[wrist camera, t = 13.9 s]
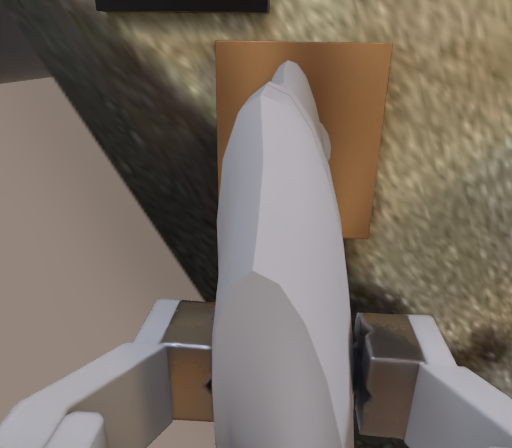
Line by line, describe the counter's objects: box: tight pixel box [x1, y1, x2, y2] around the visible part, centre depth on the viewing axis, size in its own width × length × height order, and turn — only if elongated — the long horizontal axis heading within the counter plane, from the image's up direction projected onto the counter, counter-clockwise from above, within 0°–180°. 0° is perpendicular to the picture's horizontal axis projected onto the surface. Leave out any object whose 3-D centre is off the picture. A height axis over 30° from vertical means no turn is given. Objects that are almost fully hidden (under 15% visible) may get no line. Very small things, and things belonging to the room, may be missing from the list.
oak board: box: [215, 40, 393, 239], centre depth 27 cm, size 10×12×2 cm
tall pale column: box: [212, 60, 354, 448], centre depth 16 cm, size 11×4×22 cm, turn 7°
